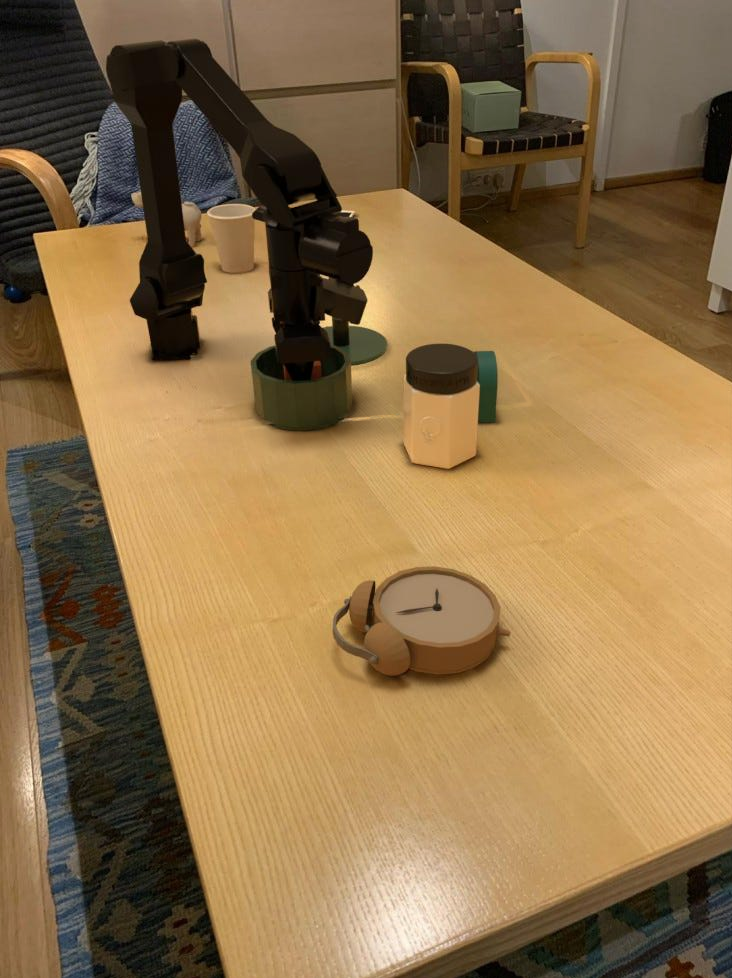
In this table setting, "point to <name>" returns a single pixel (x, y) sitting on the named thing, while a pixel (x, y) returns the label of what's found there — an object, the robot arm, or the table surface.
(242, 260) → the dixie cup
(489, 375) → the bracket
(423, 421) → the jar
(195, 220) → the dog figurine
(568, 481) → the table surface
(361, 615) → the alarm clock
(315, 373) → the box
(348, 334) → the lid
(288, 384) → the pot
